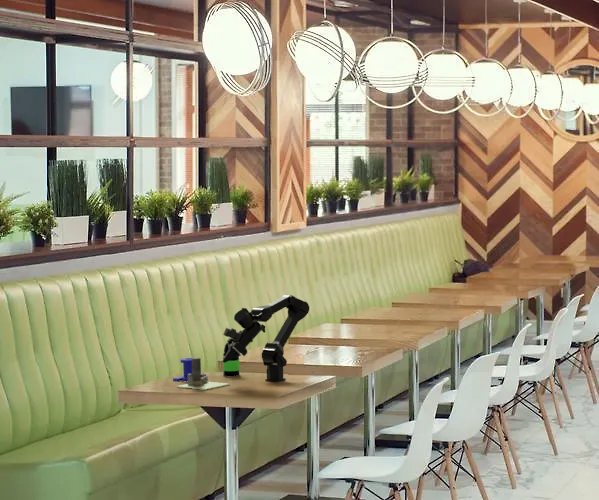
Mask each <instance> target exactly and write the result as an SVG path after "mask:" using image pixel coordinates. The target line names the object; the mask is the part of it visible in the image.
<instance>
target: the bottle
mask: <svg viewBox="0 0 599 500" xmlns="http://www.w3.org/2000/svg"><path fill="white" fill-rule="evenodd" d="M228 344H229V343H228V342H226V343H225V345H224V348H223V353H222V360H223V359H224V357H225V355H226V353H227V352H228V349H229V348H228ZM229 345H230V344H229ZM222 366H223V367H222V371H223V374H222V375H223V376H224V377H238V376H240V375H241V374H240V356H238V357H236V358H234V359H232V360H230V361H227V362H225V363H224V362H223V361H222Z"/></svg>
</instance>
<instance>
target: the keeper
mask: <svg viewBox="0 0 599 500" xmlns="http://www.w3.org/2000/svg"><path fill="white" fill-rule="evenodd" d="M204 374H205V373H201V377H203V376H204ZM187 376H188V382H187V384H188V385H193V381H192V374H188V375H187Z"/></svg>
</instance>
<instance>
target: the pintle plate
mask: <svg viewBox="0 0 599 500" xmlns="http://www.w3.org/2000/svg"><path fill="white" fill-rule="evenodd" d="M230 385H231V384H230V383H225V382H216V381H214V382H213V381H208V382H205V383H203V384H202V385H200V386H193V385H188V383H185V384H179V385H176V388H179V389H186V388H192V389H191V390H195V389H203V390H202V391H207V390H206V389H210V390H212V389H211V388H214V389H217V388H216V387H219V388H223V386H224V387H228V386H230Z"/></svg>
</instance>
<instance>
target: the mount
mask: <svg viewBox="0 0 599 500" xmlns="http://www.w3.org/2000/svg"><path fill="white" fill-rule="evenodd" d="M192 358H193V357H184V358H180V363H181V364H183V366H182V367H183V368H182V369H183V370H182V371H183V375H180V376H177V377H173V379H172V381H173V382H180V381H179V380H181V382H183V381H188V376H187V375H188V374H192ZM203 374H204V376H207V374H206V373H203Z"/></svg>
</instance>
